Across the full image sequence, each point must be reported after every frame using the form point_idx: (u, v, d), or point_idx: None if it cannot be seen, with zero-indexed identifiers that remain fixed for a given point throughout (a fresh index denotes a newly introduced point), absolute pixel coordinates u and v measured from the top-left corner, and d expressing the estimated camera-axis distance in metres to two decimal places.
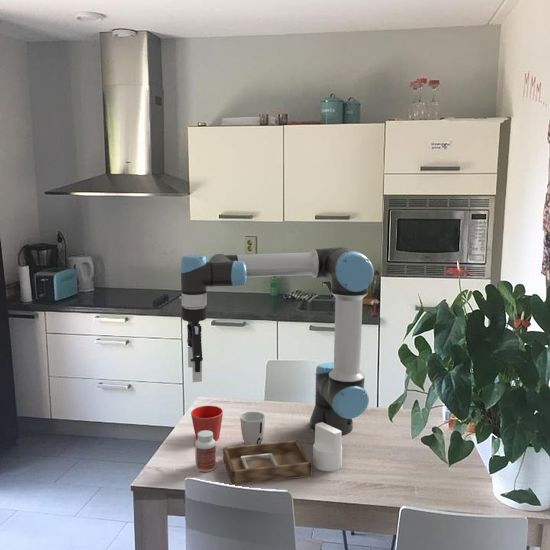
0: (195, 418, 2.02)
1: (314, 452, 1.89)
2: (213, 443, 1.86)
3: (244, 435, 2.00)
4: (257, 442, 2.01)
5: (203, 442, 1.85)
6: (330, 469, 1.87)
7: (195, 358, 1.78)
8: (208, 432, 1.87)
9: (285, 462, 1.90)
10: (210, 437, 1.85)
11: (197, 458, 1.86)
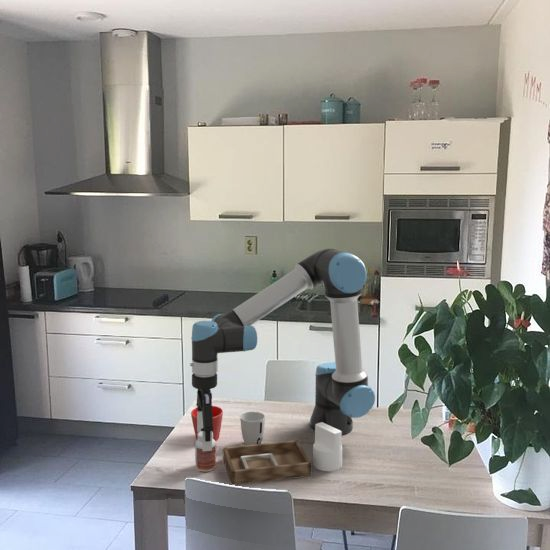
0: (195, 418, 2.02)
1: (314, 452, 1.89)
2: (213, 443, 1.86)
3: (244, 435, 2.00)
4: (257, 442, 2.01)
5: None
6: (330, 469, 1.87)
7: (206, 428, 1.75)
8: None
9: (285, 462, 1.90)
10: None
11: (197, 458, 1.86)
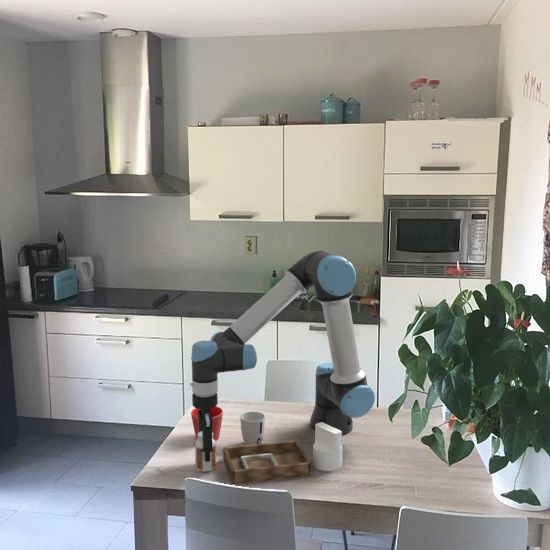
0: (195, 418, 2.02)
1: (314, 452, 1.89)
2: (213, 443, 1.86)
3: (244, 435, 2.00)
4: (257, 442, 2.01)
5: None
6: (330, 469, 1.87)
7: (205, 450, 1.80)
8: None
9: (285, 462, 1.90)
10: None
11: (197, 458, 1.86)
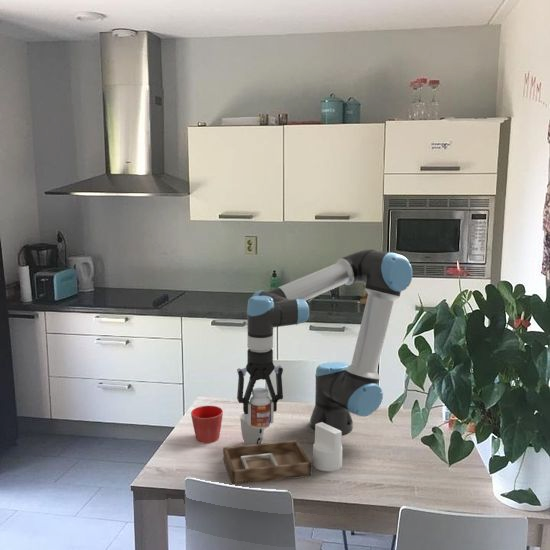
0: (195, 418, 2.02)
1: (314, 452, 1.89)
2: (255, 402, 1.82)
3: (244, 435, 2.00)
4: (257, 442, 2.01)
5: (253, 395, 1.85)
6: (330, 469, 1.87)
7: (237, 398, 1.83)
8: (263, 391, 1.83)
9: (285, 462, 1.90)
10: (254, 394, 1.82)
11: None
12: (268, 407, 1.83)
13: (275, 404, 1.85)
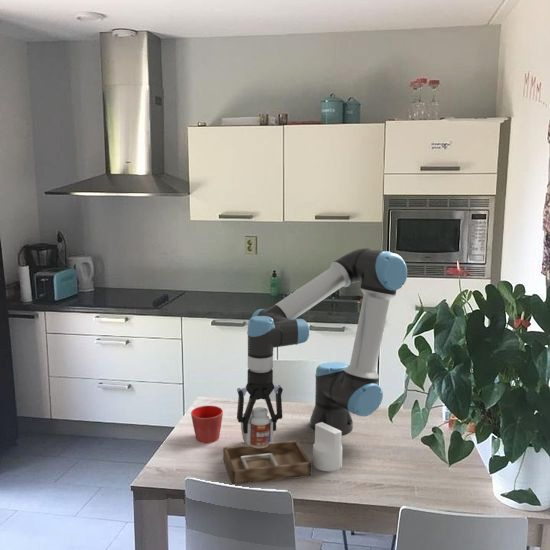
0: (195, 418, 2.02)
1: (314, 452, 1.89)
2: (255, 421, 1.83)
3: (244, 435, 2.00)
4: None
5: (253, 415, 1.86)
6: (330, 469, 1.87)
7: (237, 417, 1.84)
8: (263, 410, 1.84)
9: (285, 462, 1.90)
10: (254, 413, 1.83)
11: None
12: (268, 427, 1.84)
13: (274, 423, 1.86)
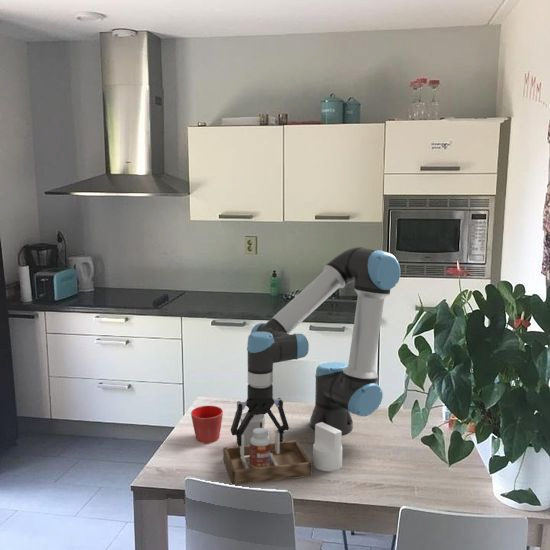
0: (195, 418, 2.02)
1: (314, 452, 1.89)
2: (256, 442, 1.84)
3: (244, 435, 2.00)
4: None
5: (253, 435, 1.87)
6: (330, 469, 1.87)
7: (231, 430, 1.85)
8: (264, 431, 1.86)
9: (285, 462, 1.90)
10: (255, 434, 1.85)
11: None
12: (268, 447, 1.85)
13: (281, 435, 1.87)
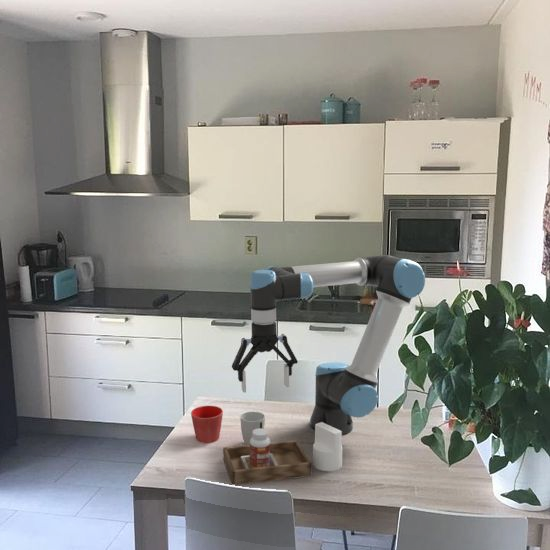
0: (195, 418, 2.02)
1: (314, 452, 1.89)
2: (255, 443, 1.84)
3: (244, 435, 2.00)
4: None
5: (253, 436, 1.87)
6: (330, 469, 1.87)
7: (232, 365, 1.86)
8: (263, 432, 1.85)
9: (285, 462, 1.90)
10: (254, 435, 1.84)
11: None
12: (268, 448, 1.85)
13: (290, 368, 1.90)
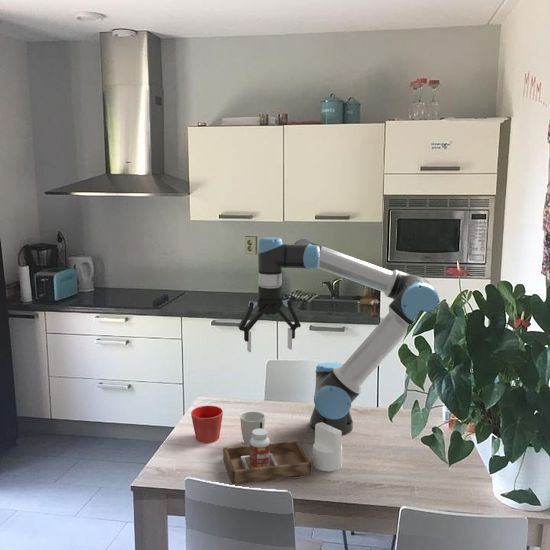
0: (195, 418, 2.02)
1: (314, 452, 1.89)
2: (255, 443, 1.84)
3: (244, 435, 2.00)
4: None
5: (253, 436, 1.87)
6: (330, 469, 1.87)
7: (238, 326, 1.98)
8: (263, 432, 1.85)
9: (285, 462, 1.90)
10: (254, 435, 1.84)
11: None
12: (268, 448, 1.85)
13: (293, 332, 2.02)
